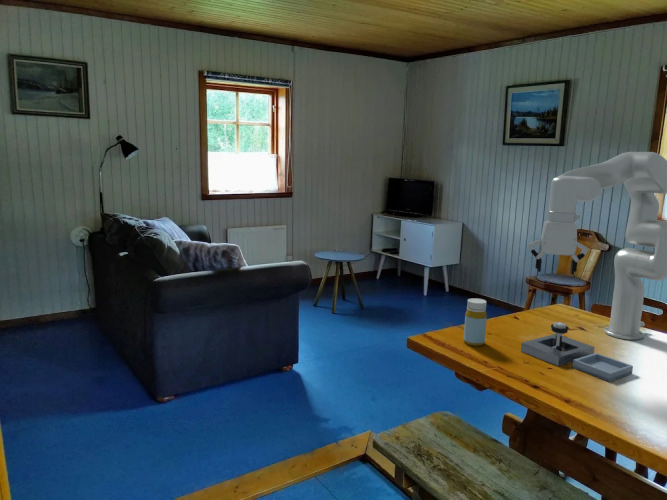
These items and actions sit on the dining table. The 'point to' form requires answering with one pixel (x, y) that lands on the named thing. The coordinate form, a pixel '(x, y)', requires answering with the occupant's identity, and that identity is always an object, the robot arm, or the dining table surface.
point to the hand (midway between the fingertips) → (555, 272)
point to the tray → (602, 367)
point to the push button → (559, 334)
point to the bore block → (556, 357)
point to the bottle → (475, 322)
